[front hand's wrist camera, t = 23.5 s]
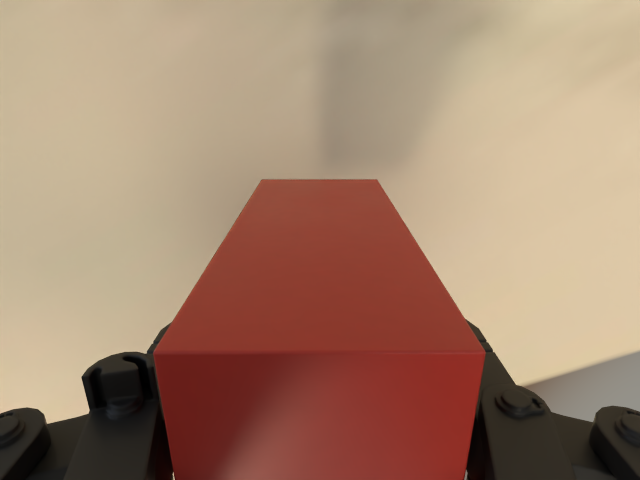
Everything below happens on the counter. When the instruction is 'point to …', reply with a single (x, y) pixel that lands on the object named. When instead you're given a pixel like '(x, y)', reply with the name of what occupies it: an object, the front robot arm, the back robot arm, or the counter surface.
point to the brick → (319, 348)
